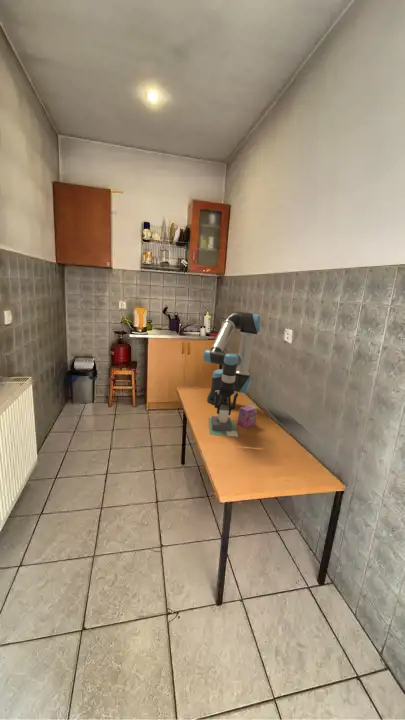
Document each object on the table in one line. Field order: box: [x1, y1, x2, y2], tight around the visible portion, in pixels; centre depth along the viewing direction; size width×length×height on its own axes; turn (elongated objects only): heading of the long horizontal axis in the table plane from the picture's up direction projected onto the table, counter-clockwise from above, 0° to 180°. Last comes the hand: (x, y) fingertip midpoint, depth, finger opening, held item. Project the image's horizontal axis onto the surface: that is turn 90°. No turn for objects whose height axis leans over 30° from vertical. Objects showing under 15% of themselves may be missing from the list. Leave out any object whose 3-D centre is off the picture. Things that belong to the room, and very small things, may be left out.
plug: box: [218, 404, 229, 423], centre depth 172 cm, size 4×4×12 cm
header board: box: [208, 415, 240, 438], centre depth 173 cm, size 21×16×4 cm
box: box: [237, 404, 259, 429], centre depth 179 cm, size 10×6×12 cm, turn 131°
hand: (222, 419), depth 172 cm, fingers closed on plug, 4 cm apart
